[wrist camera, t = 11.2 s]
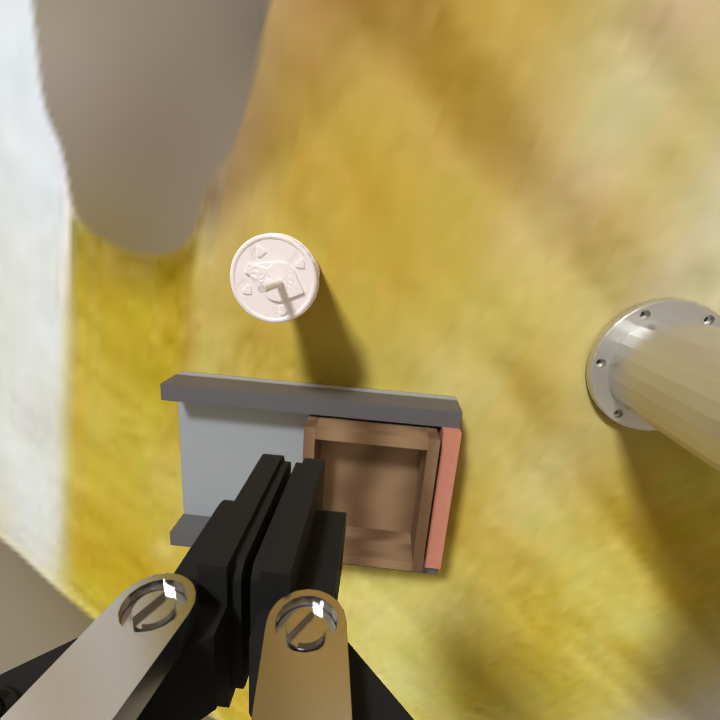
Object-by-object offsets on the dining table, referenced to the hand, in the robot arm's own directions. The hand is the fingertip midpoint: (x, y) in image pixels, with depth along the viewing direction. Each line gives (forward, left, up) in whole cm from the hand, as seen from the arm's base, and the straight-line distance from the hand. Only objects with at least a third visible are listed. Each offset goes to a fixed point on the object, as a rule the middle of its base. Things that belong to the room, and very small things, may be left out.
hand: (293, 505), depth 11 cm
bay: (+4, +16, -29) cm, 33 cm away
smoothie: (+6, -4, -29) cm, 30 cm away
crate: (-2, +16, -28) cm, 32 cm away
